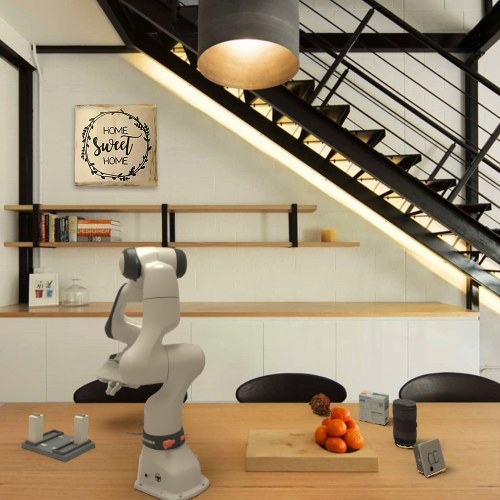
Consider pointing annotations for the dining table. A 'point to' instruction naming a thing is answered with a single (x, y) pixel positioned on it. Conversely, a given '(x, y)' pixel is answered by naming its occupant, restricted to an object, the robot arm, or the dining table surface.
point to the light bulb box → (374, 407)
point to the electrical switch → (429, 456)
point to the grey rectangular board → (58, 446)
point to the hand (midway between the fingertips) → (109, 394)
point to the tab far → (35, 428)
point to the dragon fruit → (320, 404)
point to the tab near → (80, 428)
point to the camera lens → (404, 422)
